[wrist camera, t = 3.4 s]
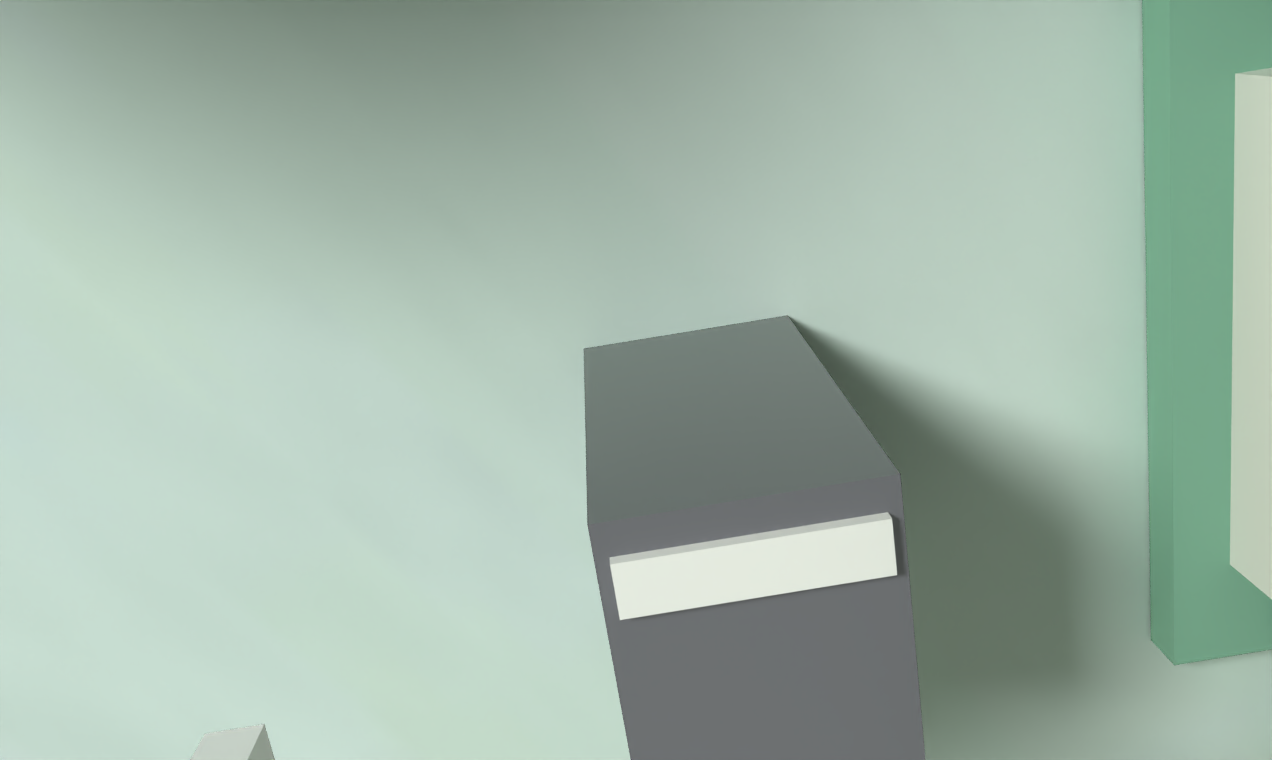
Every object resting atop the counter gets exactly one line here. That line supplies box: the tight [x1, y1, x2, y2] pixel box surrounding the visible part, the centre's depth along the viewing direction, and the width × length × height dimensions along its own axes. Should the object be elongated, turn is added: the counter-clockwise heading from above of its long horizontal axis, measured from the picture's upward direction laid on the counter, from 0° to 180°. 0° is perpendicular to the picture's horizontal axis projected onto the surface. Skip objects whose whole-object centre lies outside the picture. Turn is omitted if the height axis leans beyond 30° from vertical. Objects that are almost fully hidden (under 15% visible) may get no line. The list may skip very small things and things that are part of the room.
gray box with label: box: [584, 316, 925, 760], centre depth 19 cm, size 4×5×8 cm
